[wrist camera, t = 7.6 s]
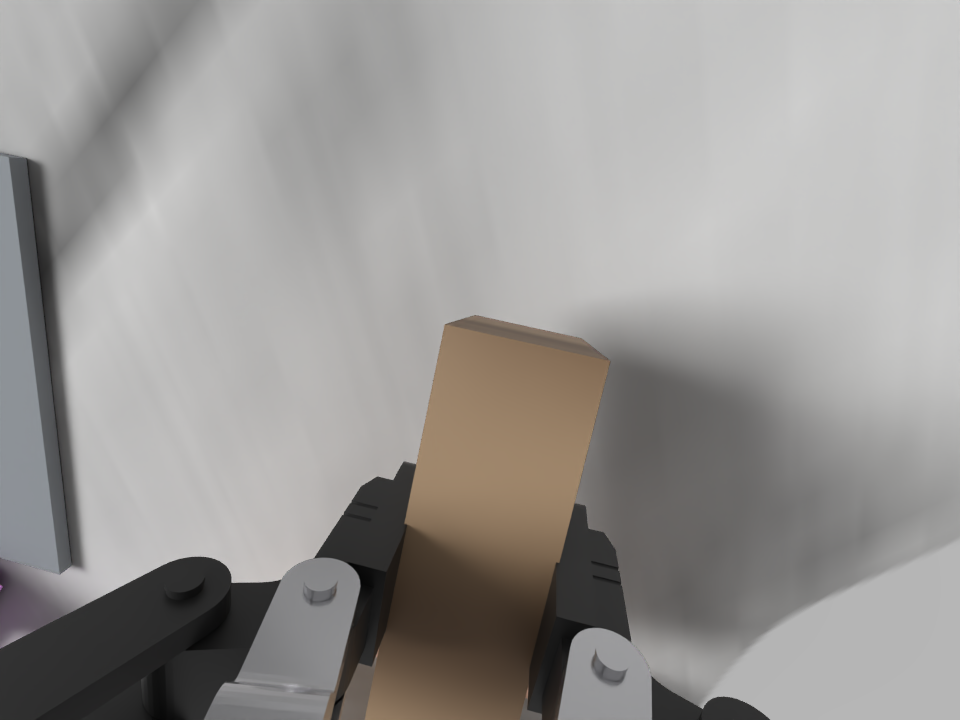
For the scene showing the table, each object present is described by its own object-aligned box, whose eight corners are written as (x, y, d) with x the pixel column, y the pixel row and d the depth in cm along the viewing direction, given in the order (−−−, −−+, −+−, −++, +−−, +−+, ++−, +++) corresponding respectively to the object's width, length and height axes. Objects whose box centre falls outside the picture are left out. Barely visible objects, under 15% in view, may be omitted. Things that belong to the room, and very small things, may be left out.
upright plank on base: (405, 300, 14) (339, 300, 9) (654, 354, 14) (725, 386, 9) (334, 675, 16) (244, 847, 11) (553, 736, 15) (564, 945, 10)
